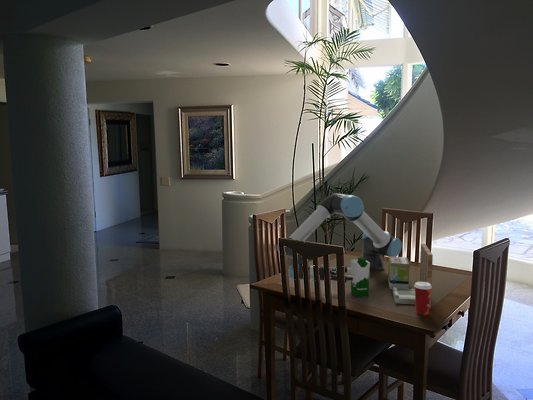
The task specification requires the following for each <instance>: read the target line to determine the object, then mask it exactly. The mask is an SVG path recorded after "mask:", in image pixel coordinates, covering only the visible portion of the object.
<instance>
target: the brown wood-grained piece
mask: <svg viewBox="0 0 533 400" xmlns="http://www.w3.org/2000/svg"><path fill="white" fill-rule="evenodd" d="M433 257H434V254H433V253H432V252H431V249H430V248H429V247H428V246H427V245H426V243H420V258H419V260H420V261H419V282H427V283H430V284H431V286H432V285H433V284H432V281H433ZM432 287H433V286H432ZM432 289H433V288H431V290H432ZM392 296H393V300H394V303H395V304H400V305H401V304H404V305H415V288H408V289H405V288H396V285H393V289H392ZM431 308H432V293H431V294H430V304H429V309H431Z"/></svg>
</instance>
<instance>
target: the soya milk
mask: <svg viewBox="0 0 533 400" xmlns="http://www.w3.org/2000/svg"><path fill="white" fill-rule="evenodd" d="M350 268H351V273H350V275H351V276H360V282H359V281H350V293H351V295H353V297H355V298H365V297H366V298H367V297H369V296H370V271H369V268H370V262H368V261H367V260H366V258H363V257H362V256H361V257H358V258H357V259H350Z"/></svg>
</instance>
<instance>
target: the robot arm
mask: <svg viewBox="0 0 533 400" xmlns="http://www.w3.org/2000/svg"><path fill="white" fill-rule="evenodd" d="M335 214H336V215H341V216H342V217H344V218H345V220H347V222H350V223H351V222H353V224H355V225H356V227H358V228H359V229H360V230H361V231H362V232H363V233H362V237H361V239H362V241H361V242H362V243H361V246H362V248H361V249H362V251H361V257H363V258H366V260H367V261H368V262H370V268H369V272H370V271H371V272H375V271H378V272H379V271H382V270H384V269H385V265H384V261H383V257H382V256H385V257H388V258H389V257H399V255H400V253H401V250H402V245H403V244H402V241H401V240H400V239H399V238H397V237H394V236H393V235H391V233H390V232H388V231H386V230H383V229H382V228H381V227H380V226H379V225H378V224H377V223H376V222H375V221H374V220H373V219H372V217H370V216H369V215H368V214H367V212H365V208H364V203H363V200H362V199H361V198H360V197H358V196H356V195H355V194H354V195H353V194H345V193H338V192H337V193H333V194H330V195H328V196H327V197H326V198H324V199H323V200H322V201H321V202H320V203H319V204H318V205H316V209H315V210H314V211H313V212H312V213H311V214H310V215H309V216H308V217H307V218H306V219H305V220H304V222H302V223H301V224H300V225H299V226H298V228H297V229H295V231H294V232H293V233H292V234H291V235H290V236H289V237H288V238H287V239H292V240H299V241H304V242H305V241H306V240H307V239H308V238H309V237H310V235H312V233H314V232H315V231H316V230H317V229H318V227H320V226H321V224H322V223H323V222H324V221H325V220H326V219H328V218H331V216H333V215H335ZM276 251H277V252H278V254H280V251H279V242H278V243H277V245H276ZM285 252H286V256H285V257H288V258H290V259H292V260H293V255H292V250H291V249H290V248H288V247H285ZM298 264H299V278H300V279H299V280H304V278H303V266H302V257H301V255H299V254H298ZM307 265H308V264H307ZM313 266H314V265H312V264H311V265H308V270H309V280H308V281H313V282H314V281H315V280H314V276H313ZM323 266H324V265H319V266H318V267H319V275H320V280H319V281H324V268H323ZM288 267H289V268H288V277H289V278H290V279H291V280H295V279H294V275H293V263H292V264H289V266H288ZM336 267H337V266H336ZM336 267H329V268H330V280H331V281H335V282H338V281H337V271H336ZM343 267H345V273H347V275H344V276H345V283H347V282H351V281H359V282H360V276H351V267H348V266H347V265H345V266H343ZM345 273H344V274H345ZM348 274H350V275H348ZM345 283H344V284H345Z"/></svg>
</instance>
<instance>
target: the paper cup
mask: <svg viewBox="0 0 533 400" xmlns="http://www.w3.org/2000/svg"><path fill="white" fill-rule="evenodd" d="M413 286H414V289H415V304H414V305H415V306H414V307H415V313H416V314H417V315H418V316H419V315H420V316H428V315H429V311H430V308H429V304H430V294H431V295H432V289H433V288H432V287H433V286H431V284H430V283H427V282H420V281H416V282H414V285H413ZM431 288H432V289H431Z"/></svg>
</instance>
